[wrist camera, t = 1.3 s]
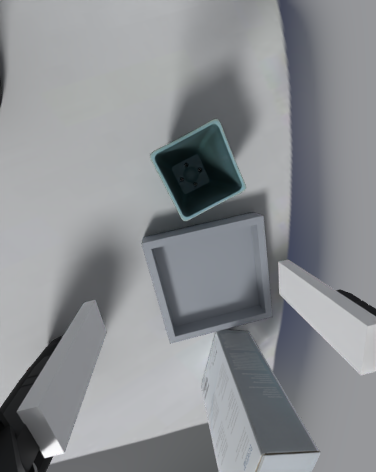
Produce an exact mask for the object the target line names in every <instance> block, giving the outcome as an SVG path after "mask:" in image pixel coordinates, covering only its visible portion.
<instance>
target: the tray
mask: <svg viewBox="0 0 376 472" xmlns="http://www.w3.org/2000/svg"><path fill="white" fill-rule="evenodd" d="M141 244H142V248H143V251H144V255H145V258H146V262H147V265H148V269H149V272H150V275H151V279H152V282H153V286H154V289H155V293H156V296H157V300H158V303H159V307H160V310H161V314H162V317H163V321H164V324H165V328H166V331H167V335H168V338H169V342H170V344H171V343H174V342H178V341H182V340H186V339H190V338H193V337H197V336H201V335H205V334H209V333H213V332H216V331H220V330H224V329H228V328H232V327H236V326H239V325H243V324H247V323H251V322H255V321H258V320H262V319H266V318H270V317H273V316H272V305H271V294H270V282H269V271H268V260H267V249H266V238H265V227H264V216H263V215H260V214H258V213H255V212H252V213H247V214H243V215H239V216H234V217H230V218H225V219H221V220H217V221H212V222H208V223H203V224H199V225H195V226H190V227H186V228H181V229H177V230H173V231H168V232H164V233H159V234H155V235H151V236H146V237H143V240H142V243H141Z"/></svg>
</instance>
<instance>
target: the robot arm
mask: <svg viewBox="0 0 376 472" xmlns="http://www.w3.org/2000/svg"><path fill="white" fill-rule="evenodd" d="M0 101H1V82H0ZM278 265H279V294H280V295H281V296H282V297H283V298H284V299H285V300H286V301H287V302H288V303H289V304H290V305H291V306H292V307H293V308H294V309H295V310H296V311H297V312H298V313H299V314H300V315H301V316H302V317H303V318H304V319H305V320H306V321H307V322H308V323H309V324H310V325H311V326H312V327H313V328H314V329H315V330H316V331H317V332H318V333H319V334H320V335H321V336H322V337H323V338H324V339H325V340H326V341H327V342H328V343H329V344H330V345H331V346H332V347H333V348H334V349H335V350H336V351H337V352H338V353H339V354H340V355H341V356H342V357H343V358H344V359H345V360H346V361H347V362H348V363H349V364H350V365H351V366H352V367H353V368H354V369H355V370H356V371H357V372H358V373H359V374H360V375H364V374H368V373H372V372H375V371H376V309H375V308H374V307H372V306H370V305H368V304H367V303H366V302H364V301H361V300H360V299H359V298H357V297H356V296H354V295H353V294H351V293H348V292H345V291H343V290H334V289H333V288H331V287H330V286H328V285H327V284H325V283H324V282H322V281H320V280H319V279H317V278H316V277H314V276H313V275H311V274H310V273H308V272H307V271H305V270H304V269H302V268H300V267H299V266H297V265H296V264H294V263H293V262H291V261H290V260H284V261H279V262H278ZM106 333H107V332H106V329H105V326H104V323H103V320H102V317H101V314H100V312H99V309H98V306H97V303H96V300H93V301H88V302H84V303H83V305H82V306H81V308H80V310H79V311H78V313H77V314H76V316H75V318H74V319H73V321H72V322H71V324H70V326H69V327H68V329H67V331H66V332H65V334H64V335H63V337H62V339H61V340H60V342H59V344H58V345H57V347H56V348H55V350H54V352H53V353H52V355H51V356H46V357H44V358H43V359H42V360H41V361H40V362H39V363H38V364H37V365H36V366H35V367H34V368H33V370H32V371H31V373H30V374H29V376H28V379H26V380H25V382H24V383H23V385H22V388H20V389H19V391H18V392H17V394H16V395H15V397H14V398H13V400H12V401H11V403H10V404H9V406H8V407H7V409H6V410H5V412H4V413H3V414H2V412H1V410H0V472H38V471H37V467H36V465H35V464H34V460H35V458H36V456H37V453H38V451H39V449H40V451H41V453H42V454H43V456H44V458H48V457H52V456H55V455H59V454H63V453H65V450H66V447H67V444H68V441H69V439H70V436H71V433H72V430H73V427H74V424H75V421H76V419H77V416H78V413H79V410H80V407H81V404H82V401H83V399H84V396H85V393H86V390H87V387H88V384H89V382H90V379H91V376H92V373H93V370H94V367H95V364H96V362H97V359H98V356H99V353H100V350H101V347H102V345H103V342H104V339H105V336H106Z"/></svg>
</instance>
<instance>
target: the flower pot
mask: <svg viewBox="0 0 376 472" xmlns="http://www.w3.org/2000/svg"><path fill="white" fill-rule="evenodd" d="M150 159H151V162H152V163H153V165H154V167H155V169H156V171H157V173H158V174H159V176H160V178H161V180H162V182H163V184H164V186H165V188H166V190H167V192H168V194H169V195H170V197H171V199H172V201H173V203H174V205H175V207H176V209H177V211H178V213H179V215H180V217H181V219H182V220H183V221H188V220H190V219H192V218H194V217H196V216H198V215H199V214H201V213H203V212H205V211H207V210H209V209H211V208H212V207H215V206H216V205H218V204H220V203H222V202H224V201H226V200H228V199H230V198H232V197H234V196H236V195H238V194H240V193H242V192H243V191H245V189H246V185H245V182H244V180H243V177H242V175H241V173H240V170H239V168H238V166H237V163H236V161H235V158H234V156H233V153H232V151H231V148H230V146H229V143H228V141H227V138H226V135H225V133H224V130H223V127H222V124H221V122H220V121H219V120H218V119H213V120H211V121H209V122H208V123H206V124H204V125H202V126H200V127H199V128H197V129H195V130H193V131H191V132H190V133H188V134H186V135H184V136H182V137H180V138H179V139H177V140H175V141H173V142H171V143H169V144H167V145H165V146H163V147H161V148H159V149H157V150H155V151H153V152H152V153H151V154H150ZM186 163H187V164H188V166H187V167H185V164H186ZM199 168H201V172H199V171H198V169H199ZM181 178H183V179H184V180H183V181H181V180H180V179H181ZM195 182H196V183H197V185H196V186H194V183H195Z"/></svg>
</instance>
